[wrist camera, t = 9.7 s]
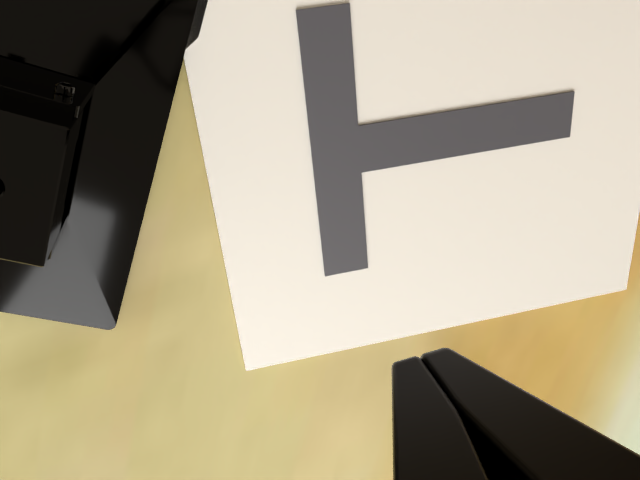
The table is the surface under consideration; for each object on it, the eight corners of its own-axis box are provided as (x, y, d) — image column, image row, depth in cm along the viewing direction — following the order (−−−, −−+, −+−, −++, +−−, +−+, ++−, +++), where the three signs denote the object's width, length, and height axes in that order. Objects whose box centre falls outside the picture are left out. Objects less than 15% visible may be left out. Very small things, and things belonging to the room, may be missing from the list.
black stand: (-83, -160, 14) (-195, -206, 10) (219, -46, 16) (230, -44, 12) (-118, 286, 18) (-206, 382, 14) (123, 327, 21) (107, 420, 17)
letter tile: (698, -171, 18) (706, -173, 17) (623, 287, 25) (627, 290, 25) (148, -119, 15) (148, -120, 15) (245, 367, 23) (246, 372, 22)
